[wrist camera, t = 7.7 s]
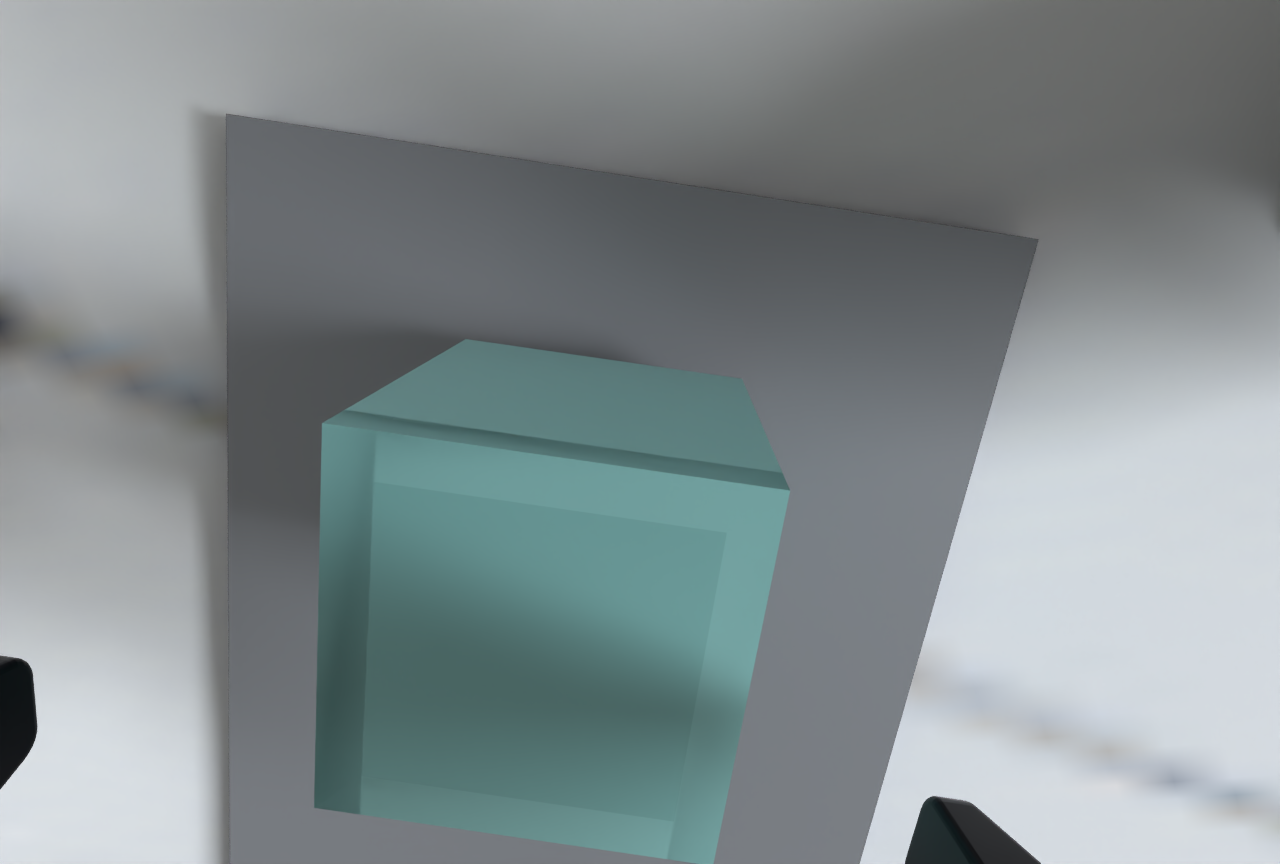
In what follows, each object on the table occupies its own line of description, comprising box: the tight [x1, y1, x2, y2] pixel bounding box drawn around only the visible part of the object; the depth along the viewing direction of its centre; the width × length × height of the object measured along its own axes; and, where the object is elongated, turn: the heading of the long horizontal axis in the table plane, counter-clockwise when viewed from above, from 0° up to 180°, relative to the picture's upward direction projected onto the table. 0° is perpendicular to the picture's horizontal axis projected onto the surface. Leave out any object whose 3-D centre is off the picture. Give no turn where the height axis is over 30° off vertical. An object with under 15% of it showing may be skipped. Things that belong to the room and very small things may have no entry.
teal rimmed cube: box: [314, 339, 790, 864], centre depth 12 cm, size 5×5×6 cm
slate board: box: [226, 114, 1038, 864], centre depth 19 cm, size 16×26×1 cm, turn 172°
